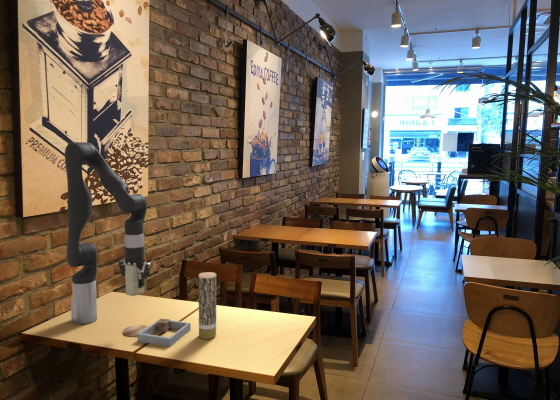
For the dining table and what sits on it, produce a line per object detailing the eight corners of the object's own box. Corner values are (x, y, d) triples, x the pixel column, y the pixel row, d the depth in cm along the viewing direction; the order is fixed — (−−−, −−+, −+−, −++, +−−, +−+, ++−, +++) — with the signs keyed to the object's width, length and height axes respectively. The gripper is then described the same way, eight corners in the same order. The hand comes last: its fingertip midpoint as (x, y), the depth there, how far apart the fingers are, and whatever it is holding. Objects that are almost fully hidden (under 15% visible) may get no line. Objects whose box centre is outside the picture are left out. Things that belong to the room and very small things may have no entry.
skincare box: (133, 296, 173) (133, 266, 172) (125, 294, 175) (124, 264, 173) (145, 292, 179) (144, 262, 177) (136, 290, 180) (136, 261, 179)
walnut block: (156, 332, 178) (156, 322, 178) (160, 328, 182) (160, 318, 182) (166, 332, 178) (166, 323, 178) (169, 328, 182) (169, 319, 182)
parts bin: (137, 341, 169) (137, 333, 169) (160, 325, 184) (160, 318, 184) (170, 346, 165) (170, 338, 165) (190, 330, 181) (190, 323, 180)
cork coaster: (117, 334, 175) (117, 333, 175) (133, 325, 185) (133, 323, 185) (140, 337, 172) (139, 336, 172) (154, 328, 182) (154, 326, 182)
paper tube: (201, 340, 171) (201, 277, 168) (196, 334, 177) (196, 273, 174) (218, 337, 174) (218, 275, 171) (212, 331, 180) (213, 271, 177)
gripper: (112, 245, 173) (113, 287, 175) (144, 248, 169) (145, 291, 171) (124, 241, 180) (125, 282, 182) (155, 244, 176) (156, 286, 178)
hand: (135, 286), depth 176 cm, fingers closed on skincare box, 4 cm apart
